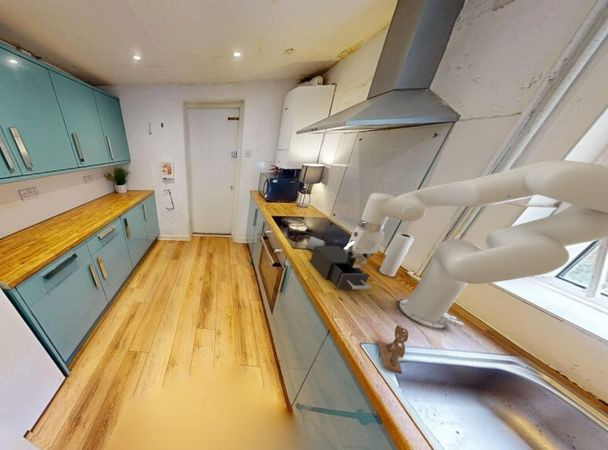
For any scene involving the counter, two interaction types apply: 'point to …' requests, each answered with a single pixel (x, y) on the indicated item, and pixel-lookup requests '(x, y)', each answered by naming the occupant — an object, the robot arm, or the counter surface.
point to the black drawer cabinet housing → (327, 258)
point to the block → (359, 261)
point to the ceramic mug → (314, 243)
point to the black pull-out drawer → (348, 277)
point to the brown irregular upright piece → (394, 350)
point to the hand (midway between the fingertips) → (355, 264)
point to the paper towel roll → (396, 254)
